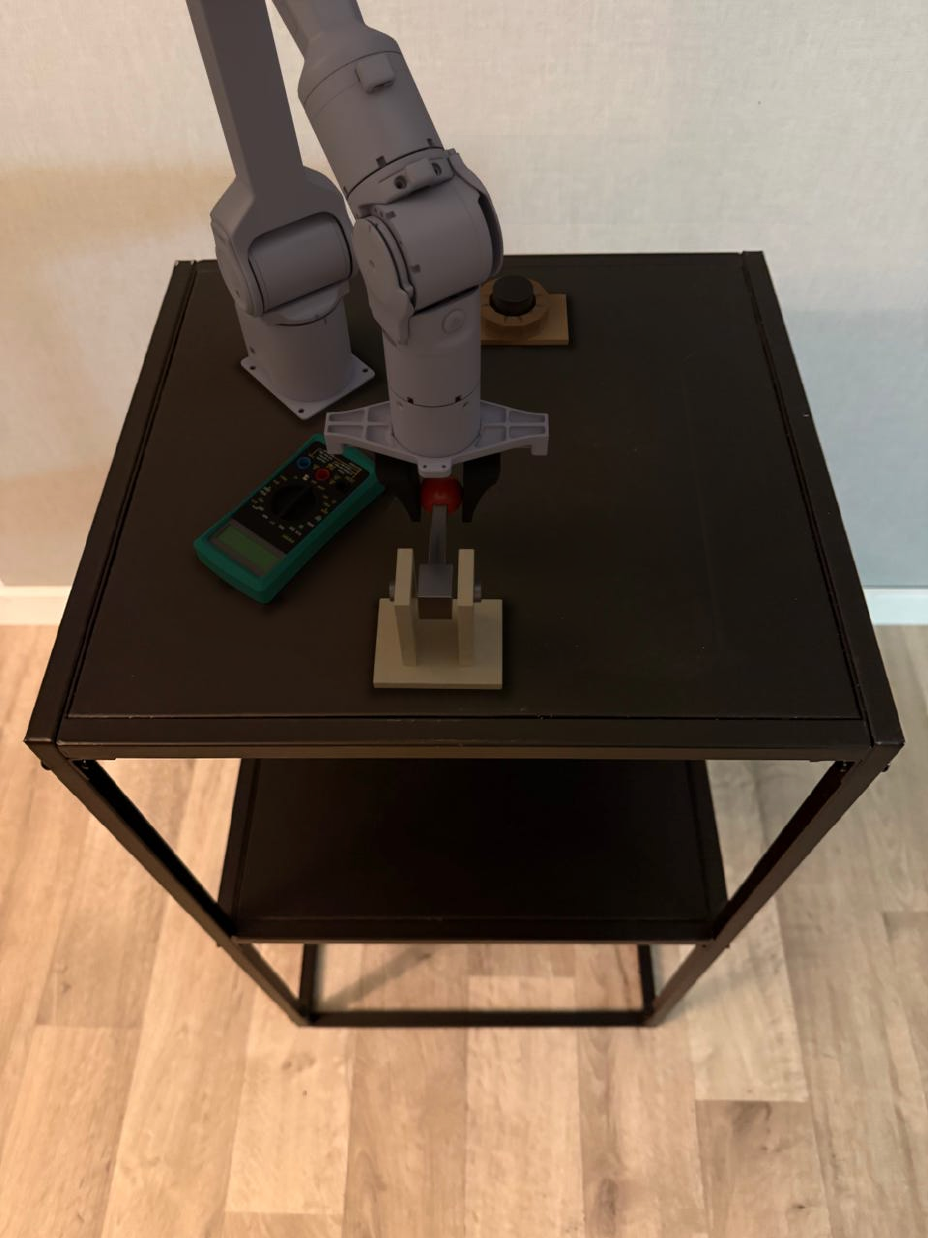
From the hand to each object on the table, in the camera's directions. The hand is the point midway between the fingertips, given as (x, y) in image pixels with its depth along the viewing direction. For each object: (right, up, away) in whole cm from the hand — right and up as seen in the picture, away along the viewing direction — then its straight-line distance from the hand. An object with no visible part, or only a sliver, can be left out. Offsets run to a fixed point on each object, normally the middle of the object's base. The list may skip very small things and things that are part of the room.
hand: (441, 511), depth 69 cm
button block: (+6, +19, +17) cm, 26 cm away
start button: (+6, +20, +15) cm, 26 cm away
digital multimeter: (-12, -1, +6) cm, 13 cm away
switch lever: (0, -3, -3) cm, 4 cm away
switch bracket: (0, -10, -1) cm, 10 cm away
